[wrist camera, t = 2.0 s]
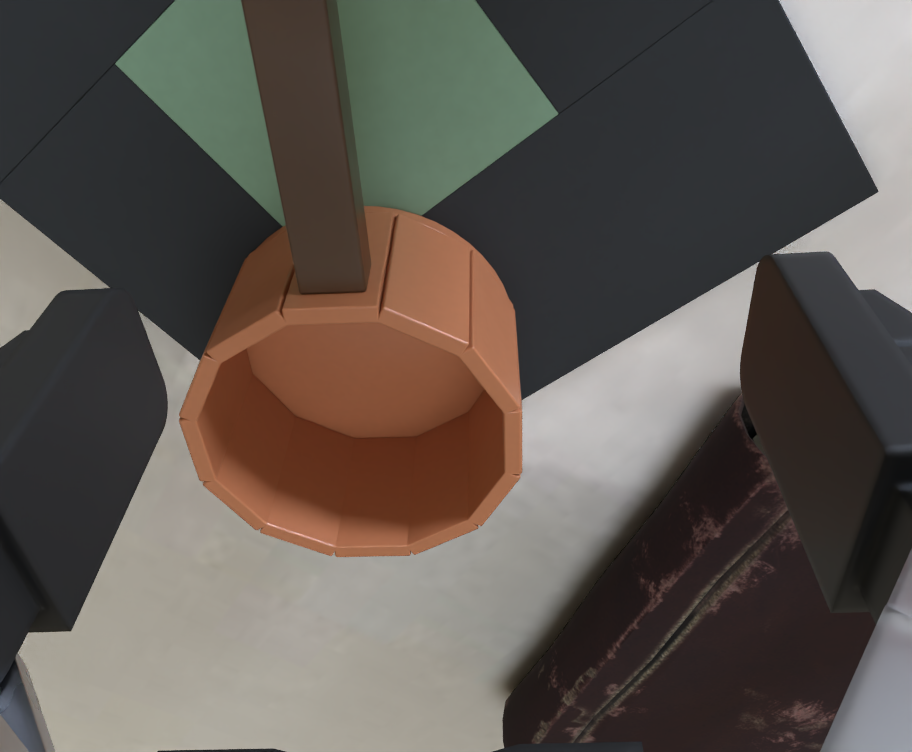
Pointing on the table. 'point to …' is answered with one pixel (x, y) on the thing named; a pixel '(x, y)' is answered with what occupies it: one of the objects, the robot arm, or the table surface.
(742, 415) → the diary
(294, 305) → the saucepan
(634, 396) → the table surface
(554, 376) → the placemat
